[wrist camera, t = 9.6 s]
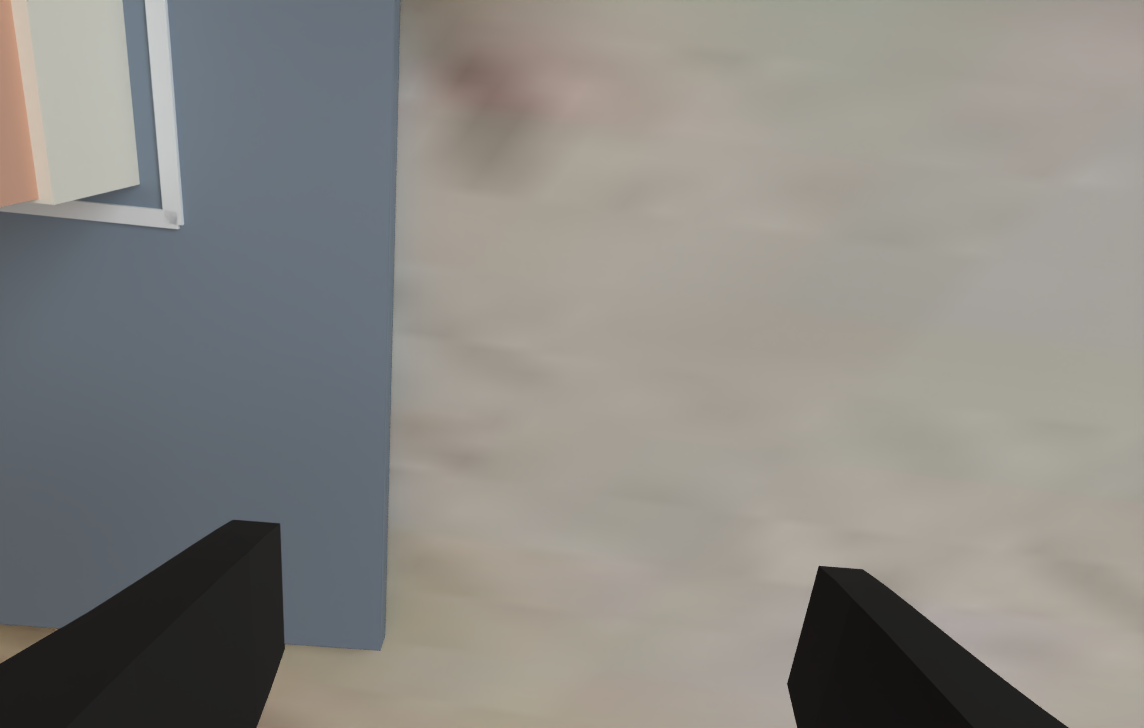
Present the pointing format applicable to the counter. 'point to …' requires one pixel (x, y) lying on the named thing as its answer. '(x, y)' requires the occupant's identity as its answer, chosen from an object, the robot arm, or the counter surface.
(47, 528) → the board
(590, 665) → the counter surface
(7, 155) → the terracotta block
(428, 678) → the counter surface
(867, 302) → the counter surface
